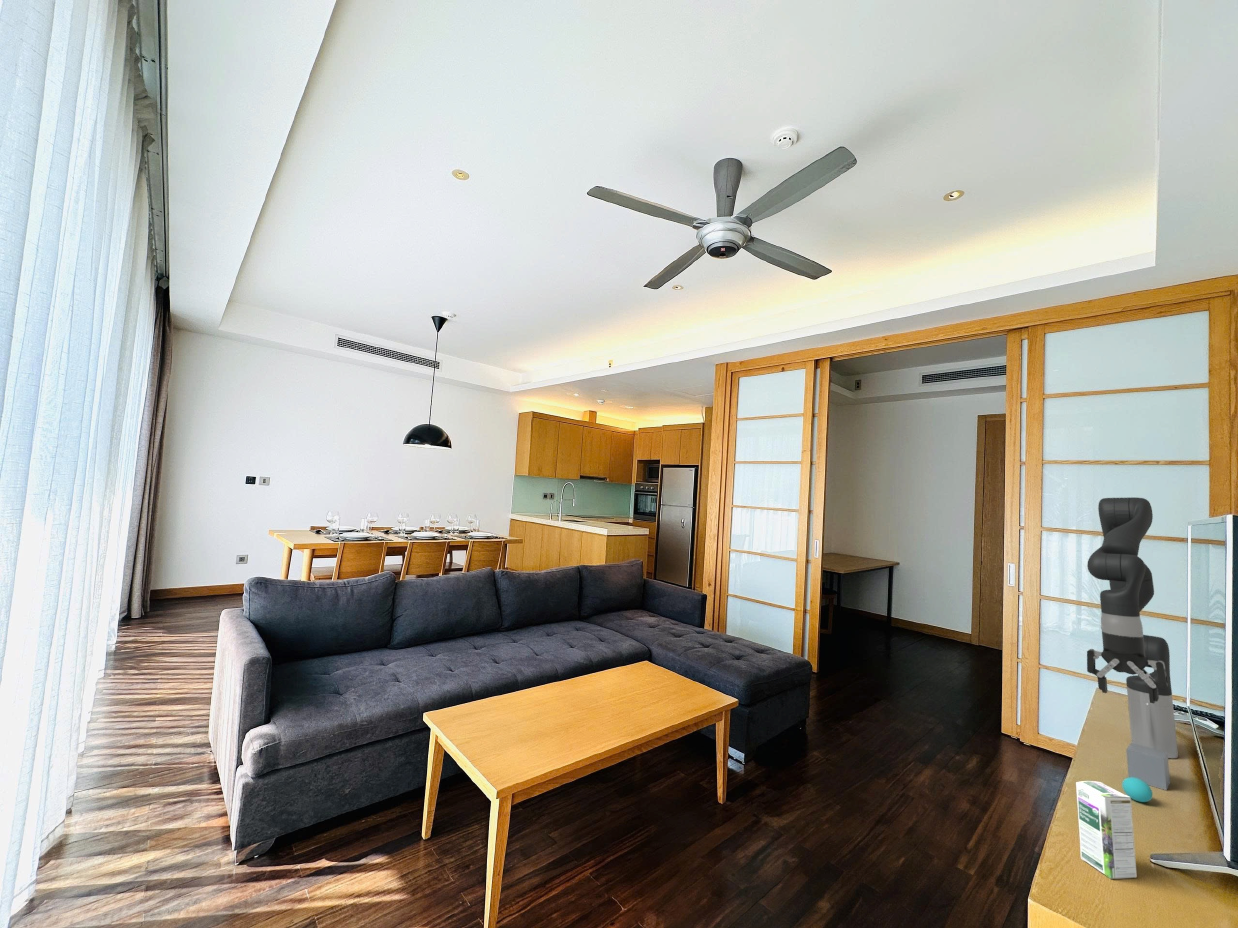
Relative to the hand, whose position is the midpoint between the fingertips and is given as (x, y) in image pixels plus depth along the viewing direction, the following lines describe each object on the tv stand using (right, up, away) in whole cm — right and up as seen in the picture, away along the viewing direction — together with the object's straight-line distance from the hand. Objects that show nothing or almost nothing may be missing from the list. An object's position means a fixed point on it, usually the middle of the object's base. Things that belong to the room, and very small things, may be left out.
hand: (1128, 697), depth 124 cm
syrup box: (-36, -19, -31) cm, 50 cm away
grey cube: (+8, -23, +2) cm, 25 cm away
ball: (-5, -19, -7) cm, 21 cm away
